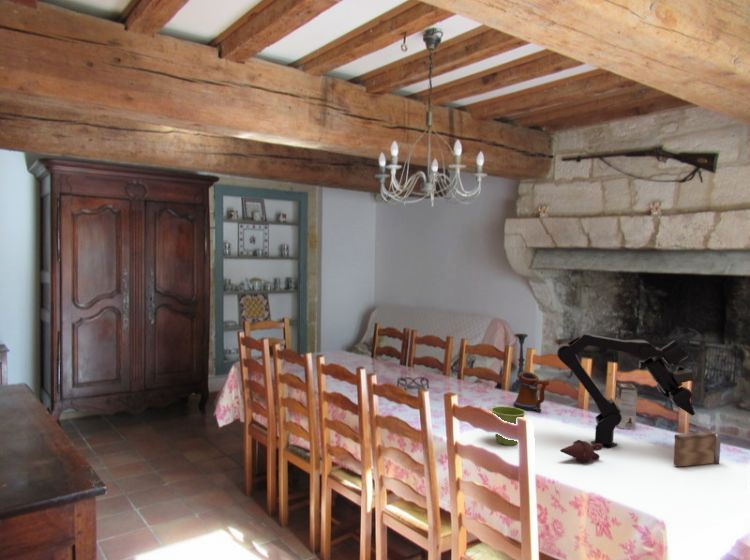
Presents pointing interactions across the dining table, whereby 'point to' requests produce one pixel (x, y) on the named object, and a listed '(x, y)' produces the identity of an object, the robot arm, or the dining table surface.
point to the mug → (530, 392)
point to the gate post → (717, 448)
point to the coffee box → (626, 404)
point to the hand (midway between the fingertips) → (688, 410)
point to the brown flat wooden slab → (694, 448)
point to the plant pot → (509, 416)
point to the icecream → (582, 450)
